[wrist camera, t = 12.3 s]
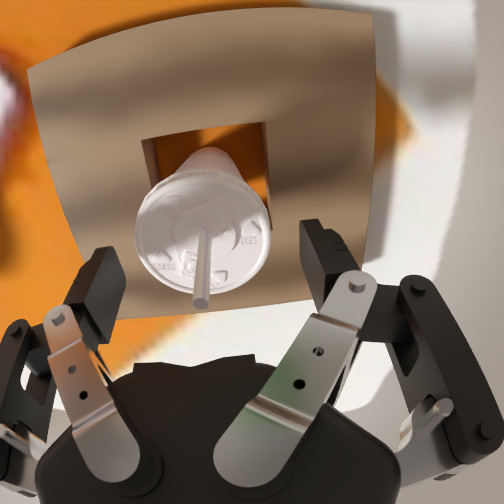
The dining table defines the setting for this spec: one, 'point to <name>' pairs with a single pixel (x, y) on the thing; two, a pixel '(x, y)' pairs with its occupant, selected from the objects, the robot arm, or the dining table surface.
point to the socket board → (208, 116)
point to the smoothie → (203, 228)
